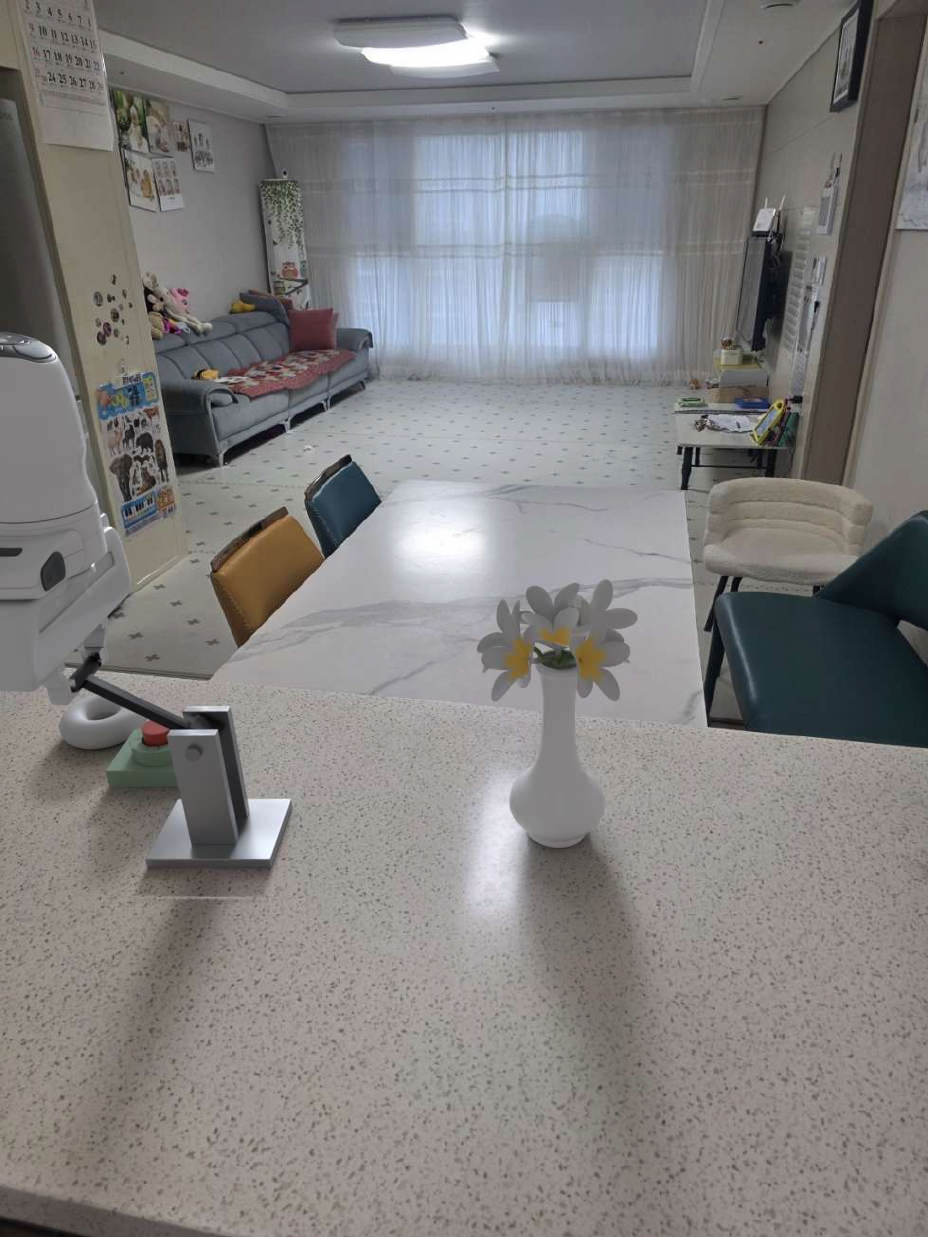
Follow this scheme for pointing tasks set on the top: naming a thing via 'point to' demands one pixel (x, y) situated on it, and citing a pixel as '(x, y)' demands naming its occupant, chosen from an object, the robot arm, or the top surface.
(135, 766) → the button box
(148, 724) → the button
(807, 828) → the top surface
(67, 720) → the donut
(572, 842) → the flower vase
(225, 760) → the bracket
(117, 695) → the lever
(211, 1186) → the top surface
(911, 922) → the top surface
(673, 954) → the top surface
